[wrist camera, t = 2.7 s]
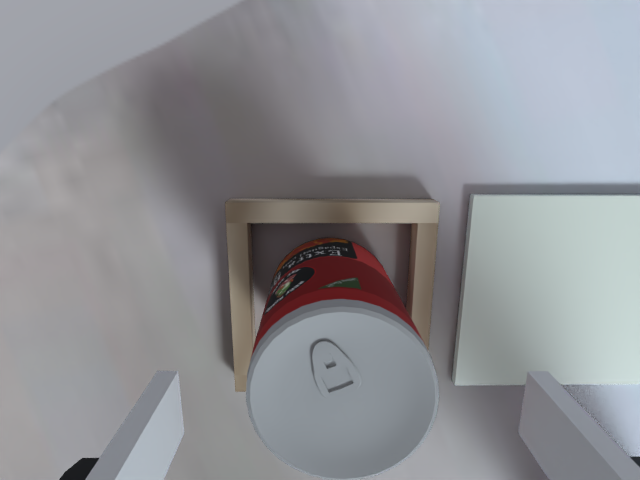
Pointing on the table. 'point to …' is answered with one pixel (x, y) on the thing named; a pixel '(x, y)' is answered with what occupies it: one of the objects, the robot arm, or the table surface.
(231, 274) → the square wooden frame
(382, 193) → the table surface
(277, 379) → the canned food
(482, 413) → the table surface
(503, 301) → the sage pad
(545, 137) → the table surface
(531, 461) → the table surface
